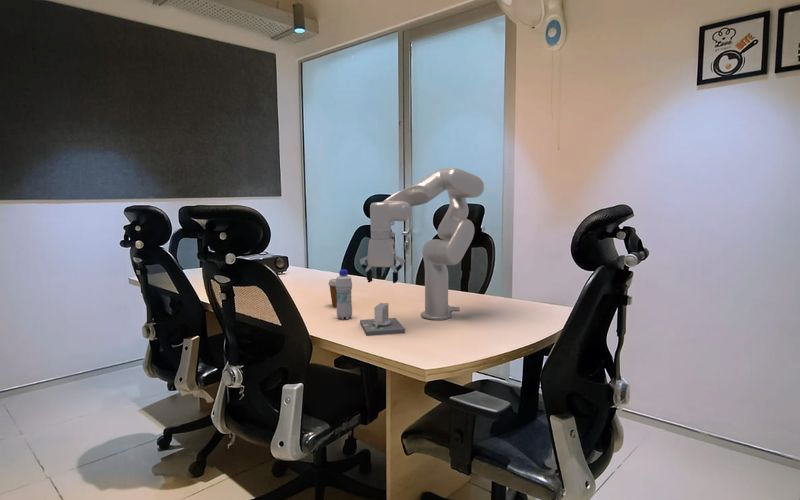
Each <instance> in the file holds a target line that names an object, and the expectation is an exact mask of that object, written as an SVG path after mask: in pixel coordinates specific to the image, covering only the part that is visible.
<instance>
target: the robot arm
mask: <svg viewBox="0 0 800 500" xmlns="http://www.w3.org/2000/svg"><path fill="white" fill-rule="evenodd" d="M445 191H447V194H448V199H449V206H448V209H447V211H446V212H445V214H444V216H443V218H442V220H441V221H440V223H439V225H438V228H437V231H436V232H437V236H438V238H439V239H437V238H436V239H433V238H432V239H429V240H428V241H426V242H425V243H424V244H423V247H422V258H423V259H422V260H423V263H424V311H423V312H421V313H420V317H421V318H423V319H425V320H430V321H431V320H432V321H441V320H442V321H443V320H449V319H451V318H452V317H453V314H452V313H453V312H460V309H461V308H460V306H453V305H452V306H450V305H449V270H448V266H454V265H458V264H459V263H460V262H461V261H462V259H463V258H464V256H465V254H466V253H467V251H468V248H469V247H470V245H471V243H472V241H473V238H474V235H475V226H474V223H473V222H472V220H470V219H468V216H469V206H468V202H467V198H470V199H472V198H475V199H476V198H478V197H480V196H482V194H483V193H484V191H485V184H484V182H483V180H482V178H480V177H479V176H478V175H475V174H472V173H470V172H468V171H465V170H463V169H460V168H458V167H455V168H454V167H450V168H449V167H448V168H439V169H437V170H435V171H433V172H432V173H430V174H429V175H427V176H426V177H425V178H423V179H421V180H420V181H419V182H417V183H416V184H413V185H411V186H408V187H406V188H404V189H402V190H399V191H397V192H395V193H393V194H392V195H390V196H388V197H387V198H386V199H384V200H383V201H379V202H378V201H377V202H371V204H370V206H369V216H370V218H369V219H370V239H369V242H368V248H367V255H366V256H364V257H362V258H360V259H359V260H358V261H359V263H360V265H361V267H362V268H363V270H365V272H366V280H367V283H371V282H373V270H372V269H373V268H391V270H392V271H393V272H392V283H393V284H396V283H397V282H398V281H399V271H400V270H401V269H402V268H403V266H404V264H405V262H406V260H405V259H404V258H402V257H400V256H398V255H397V250H396V243H395V240H394V239H392V238H393V237H394V238H395V237H396V233H395V232H393V231H392V221H393V222H405V221H407V220H409V218H411V216H412V213H413V209H412V208H413V207H416V206H421V205H424V204H427V203H429V202H431V201H432V200H433V199H435V198H437V197H438V196H439V195H440V194H442V193H443V192H445ZM365 261H367V264H368V265H367V264H366V262H365ZM397 262H399V264H398V265H397ZM447 265H448V266H447Z"/></svg>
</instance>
